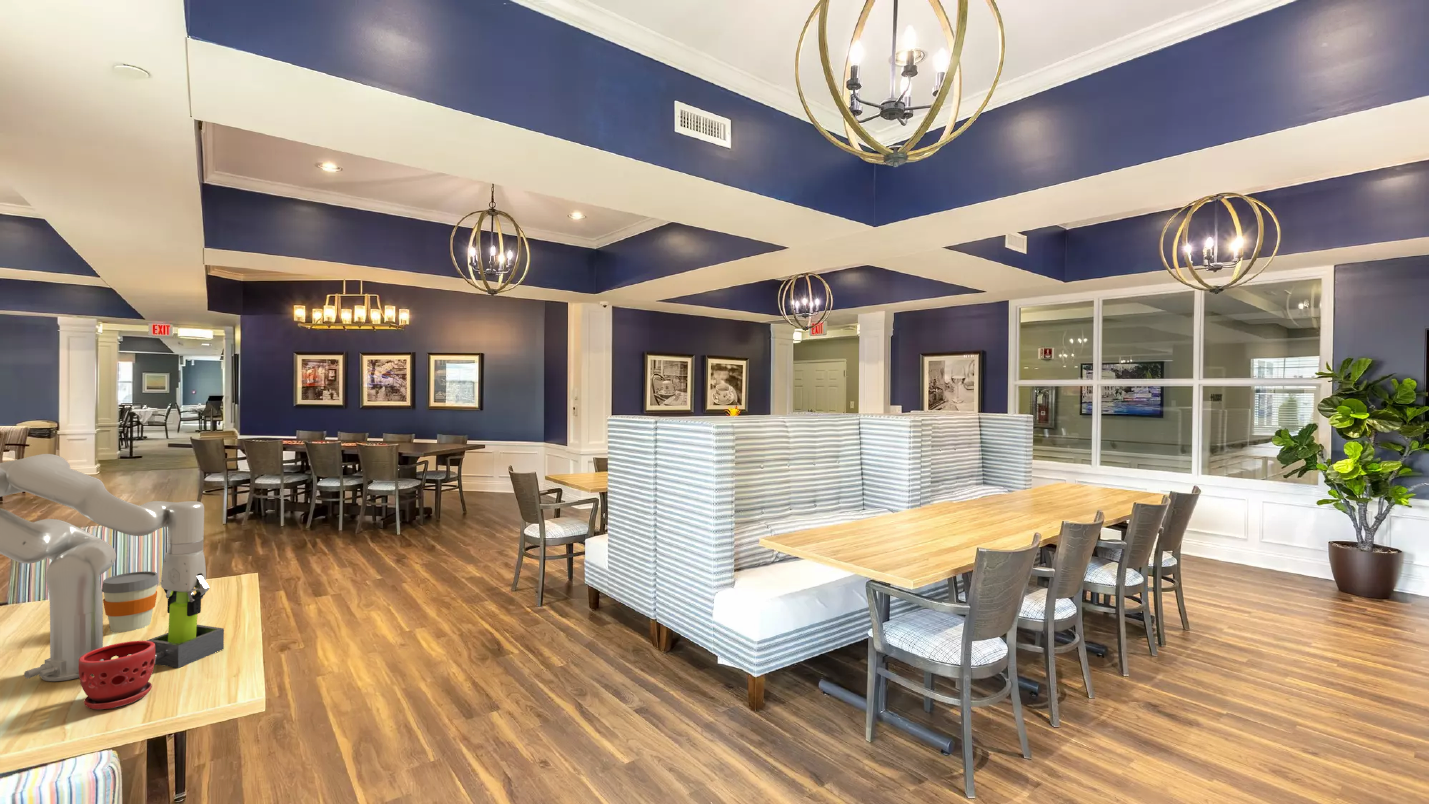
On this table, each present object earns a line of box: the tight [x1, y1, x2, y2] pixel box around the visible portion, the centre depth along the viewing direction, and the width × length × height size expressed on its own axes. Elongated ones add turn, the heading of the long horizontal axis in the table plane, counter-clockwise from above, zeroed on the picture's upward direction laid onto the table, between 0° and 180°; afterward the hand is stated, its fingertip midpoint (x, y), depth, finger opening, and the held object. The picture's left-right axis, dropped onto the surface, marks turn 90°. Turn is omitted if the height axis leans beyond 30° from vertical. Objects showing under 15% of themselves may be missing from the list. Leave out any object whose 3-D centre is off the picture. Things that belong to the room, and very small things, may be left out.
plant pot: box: [78, 640, 156, 710], centre depth 147 cm, size 13×13×12 cm
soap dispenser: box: [167, 591, 198, 644], centre depth 170 cm, size 6×7×20 cm
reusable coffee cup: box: [101, 570, 159, 633], centre depth 189 cm, size 12×13×15 cm
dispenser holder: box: [145, 624, 225, 669], centre depth 168 cm, size 17×11×6 cm, turn 167°
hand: (184, 612), depth 170 cm, fingers closed on soap dispenser, 6 cm apart
